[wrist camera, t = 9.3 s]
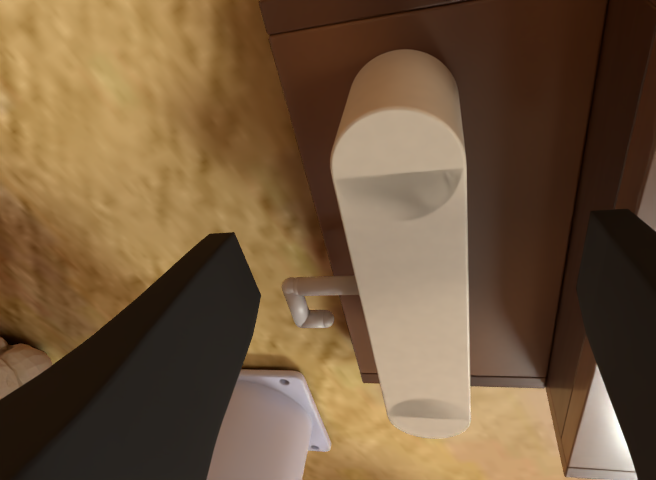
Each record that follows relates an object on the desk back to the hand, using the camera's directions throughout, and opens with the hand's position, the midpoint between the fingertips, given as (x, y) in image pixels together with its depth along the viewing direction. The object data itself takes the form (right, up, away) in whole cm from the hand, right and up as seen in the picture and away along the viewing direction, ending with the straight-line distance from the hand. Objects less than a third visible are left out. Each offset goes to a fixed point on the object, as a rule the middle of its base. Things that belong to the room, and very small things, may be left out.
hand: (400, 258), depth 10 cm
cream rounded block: (0, 0, +6) cm, 6 cm away
